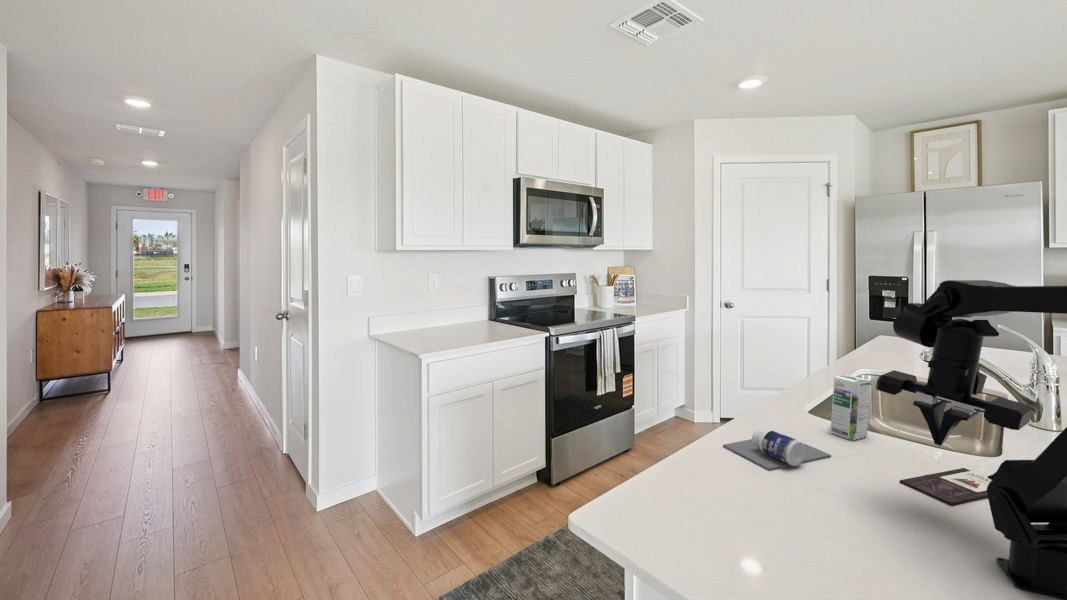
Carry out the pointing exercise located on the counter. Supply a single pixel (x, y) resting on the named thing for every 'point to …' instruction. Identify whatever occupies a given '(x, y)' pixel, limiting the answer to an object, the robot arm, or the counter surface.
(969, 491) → the chocolate bar
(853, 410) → the syrup box
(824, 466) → the counter surface
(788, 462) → the pill bottle
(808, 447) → the mat
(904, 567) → the counter surface
